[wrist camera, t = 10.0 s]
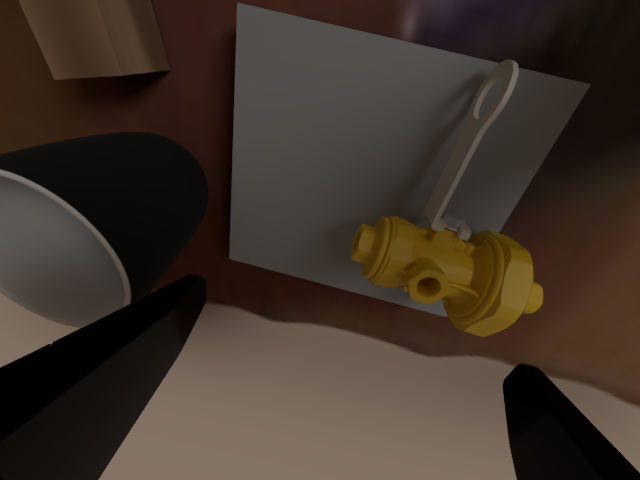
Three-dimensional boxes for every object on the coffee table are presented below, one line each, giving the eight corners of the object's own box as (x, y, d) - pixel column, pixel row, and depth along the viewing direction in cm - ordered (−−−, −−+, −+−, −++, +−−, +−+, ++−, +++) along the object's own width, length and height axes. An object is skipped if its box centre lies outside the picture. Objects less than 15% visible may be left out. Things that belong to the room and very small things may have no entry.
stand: (565, 79, 15) (591, 84, 13) (441, 294, 24) (446, 317, 22) (255, 7, 16) (237, 2, 14) (241, 242, 24) (229, 258, 22)
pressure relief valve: (339, 311, 14) (533, 371, 15) (466, 14, 10) (740, 121, 10) (339, 258, 19) (485, 305, 20) (423, 47, 15) (609, 117, 15)
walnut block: (146, -16, 16) (84, -32, 13) (169, 69, 18) (122, 75, 15) (82, -9, 17) (8, -22, 14) (112, 73, 19) (54, 79, 16)
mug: (95, 100, 20) (-112, 141, 12) (226, 130, 20) (108, 195, 11) (127, 247, 27) (10, 341, 18) (226, 272, 26) (151, 380, 18)
